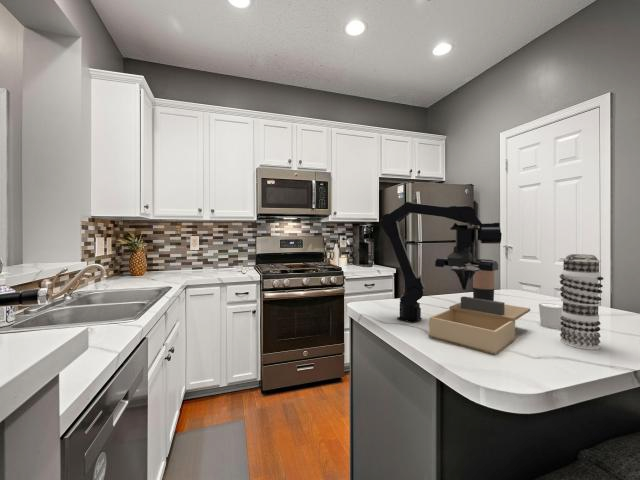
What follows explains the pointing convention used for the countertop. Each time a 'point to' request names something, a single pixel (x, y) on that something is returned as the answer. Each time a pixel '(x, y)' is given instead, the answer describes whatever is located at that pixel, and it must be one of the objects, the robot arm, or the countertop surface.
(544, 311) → the shot glass
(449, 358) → the countertop surface
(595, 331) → the decorative candle
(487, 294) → the travel mug
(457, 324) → the carton
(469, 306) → the carton lid
